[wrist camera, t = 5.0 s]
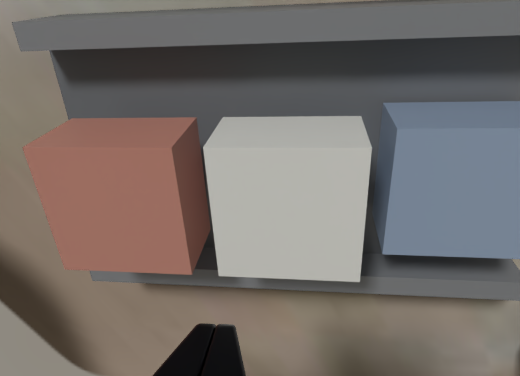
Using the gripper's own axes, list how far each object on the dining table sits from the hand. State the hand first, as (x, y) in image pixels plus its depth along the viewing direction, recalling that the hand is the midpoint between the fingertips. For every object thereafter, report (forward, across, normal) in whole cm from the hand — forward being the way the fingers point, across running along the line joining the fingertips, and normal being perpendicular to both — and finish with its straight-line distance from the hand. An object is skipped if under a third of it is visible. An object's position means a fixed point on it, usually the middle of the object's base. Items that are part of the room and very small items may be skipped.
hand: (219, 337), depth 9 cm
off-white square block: (+8, -1, 0) cm, 8 cm away
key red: (+8, +5, 0) cm, 9 cm away
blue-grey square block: (+9, -8, 0) cm, 12 cm away
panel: (+11, -2, 0) cm, 11 cm away
